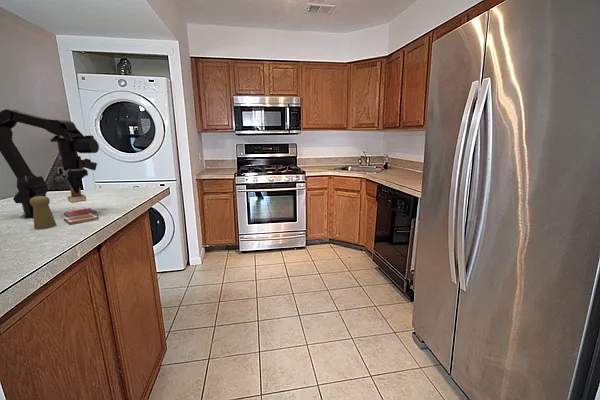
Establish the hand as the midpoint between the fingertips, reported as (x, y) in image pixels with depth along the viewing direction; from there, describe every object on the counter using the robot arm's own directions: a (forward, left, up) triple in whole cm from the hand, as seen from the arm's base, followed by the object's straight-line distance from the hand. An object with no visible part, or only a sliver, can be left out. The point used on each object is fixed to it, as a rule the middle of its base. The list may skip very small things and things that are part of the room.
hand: (75, 192), depth 116 cm
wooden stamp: (0, 0, -4) cm, 4 cm away
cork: (+10, -12, -9) cm, 19 cm away
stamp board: (+11, -2, -9) cm, 14 cm away
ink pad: (0, 0, -9) cm, 9 cm away
